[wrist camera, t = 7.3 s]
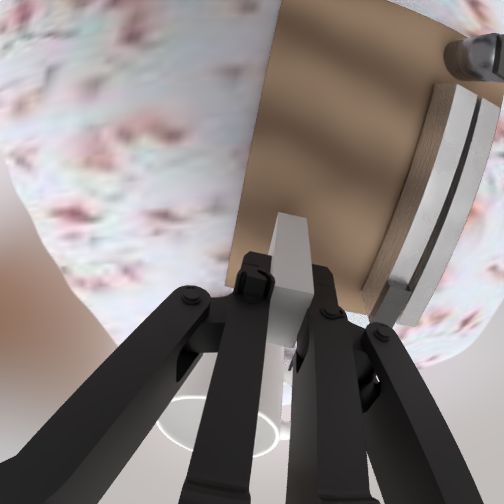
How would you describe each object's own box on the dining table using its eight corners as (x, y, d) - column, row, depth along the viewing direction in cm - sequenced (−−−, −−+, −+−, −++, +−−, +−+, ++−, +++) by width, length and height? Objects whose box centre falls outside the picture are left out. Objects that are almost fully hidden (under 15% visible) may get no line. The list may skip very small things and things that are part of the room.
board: (287, -20, 15) (288, -26, 14) (500, 63, 15) (508, 62, 14) (227, 277, 25) (224, 285, 24) (412, 314, 25) (416, 323, 24)
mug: (339, 337, 27) (352, 439, 18) (289, 388, 30) (285, 479, 21) (212, 276, 25) (174, 376, 16) (178, 341, 29) (142, 431, 20)
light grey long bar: (434, 83, 15) (463, 83, 12) (454, 93, 15) (485, 96, 12) (360, 292, 23) (369, 326, 19) (379, 297, 23) (390, 330, 19)
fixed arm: (446, 34, 14) (490, 22, 9) (482, 54, 14) (530, 51, 9) (368, 292, 23) (384, 341, 18) (402, 299, 23) (423, 347, 18)
